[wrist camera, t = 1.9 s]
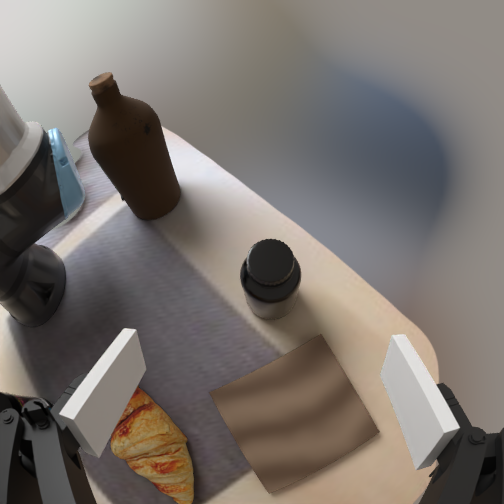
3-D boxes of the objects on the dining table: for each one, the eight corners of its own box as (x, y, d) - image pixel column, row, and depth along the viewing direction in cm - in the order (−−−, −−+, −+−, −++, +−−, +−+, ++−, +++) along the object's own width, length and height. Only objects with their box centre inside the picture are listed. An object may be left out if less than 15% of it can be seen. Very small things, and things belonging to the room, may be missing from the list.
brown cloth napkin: (210, 392, 33) (209, 392, 32) (319, 335, 36) (321, 334, 35) (268, 490, 27) (268, 493, 25) (376, 430, 29) (379, 432, 28)
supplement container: (31, 424, 29) (-12, 422, 20) (36, 391, 32) (-8, 383, 23) (57, 443, 29) (13, 446, 19) (63, 408, 32) (17, 405, 22)
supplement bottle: (266, 264, 41) (265, 217, 30) (305, 292, 39) (319, 253, 28) (235, 300, 39) (222, 264, 28) (275, 331, 37) (278, 306, 26)
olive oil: (184, 170, 50) (146, 50, 28) (184, 217, 46) (131, 85, 23) (131, 182, 50) (77, 74, 28) (126, 228, 45) (50, 116, 23)
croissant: (214, 485, 30) (231, 493, 24) (155, 514, 24) (160, 528, 18) (141, 366, 38) (143, 349, 32) (82, 387, 32) (71, 374, 26)
